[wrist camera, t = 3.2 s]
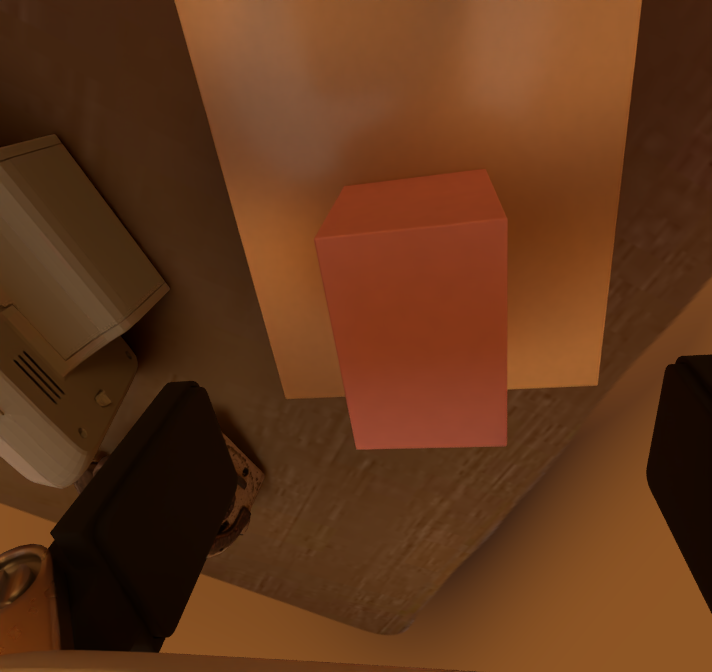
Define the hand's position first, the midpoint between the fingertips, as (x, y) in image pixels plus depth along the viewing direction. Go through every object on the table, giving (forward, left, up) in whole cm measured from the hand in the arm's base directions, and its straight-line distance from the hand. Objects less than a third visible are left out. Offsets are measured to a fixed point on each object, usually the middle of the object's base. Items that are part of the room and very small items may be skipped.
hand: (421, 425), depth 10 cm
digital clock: (0, -19, -15) cm, 24 cm away
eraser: (0, 0, -7) cm, 7 cm away
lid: (-4, 0, -8) cm, 9 cm away
